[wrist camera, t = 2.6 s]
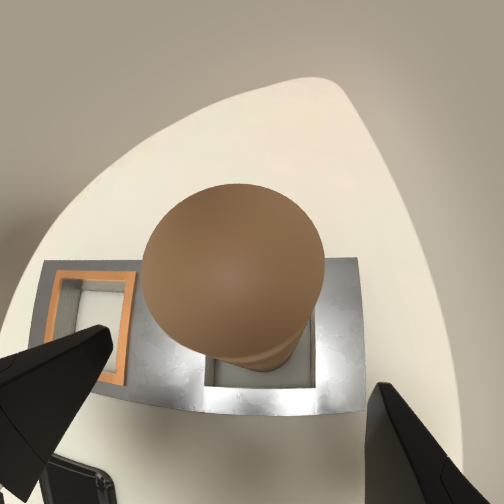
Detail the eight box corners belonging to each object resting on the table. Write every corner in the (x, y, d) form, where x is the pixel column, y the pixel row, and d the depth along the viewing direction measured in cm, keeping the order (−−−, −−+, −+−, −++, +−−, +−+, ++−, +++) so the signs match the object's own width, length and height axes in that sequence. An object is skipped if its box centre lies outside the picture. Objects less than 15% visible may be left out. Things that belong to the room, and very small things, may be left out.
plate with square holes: (348, 272, 19) (358, 255, 17) (354, 406, 16) (366, 411, 13) (61, 271, 21) (41, 258, 19) (46, 374, 18) (23, 370, 15)
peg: (253, 383, 17) (194, 394, 5) (219, 331, 18) (118, 240, 7) (307, 348, 17) (363, 282, 6) (272, 298, 19) (256, 159, 7)
